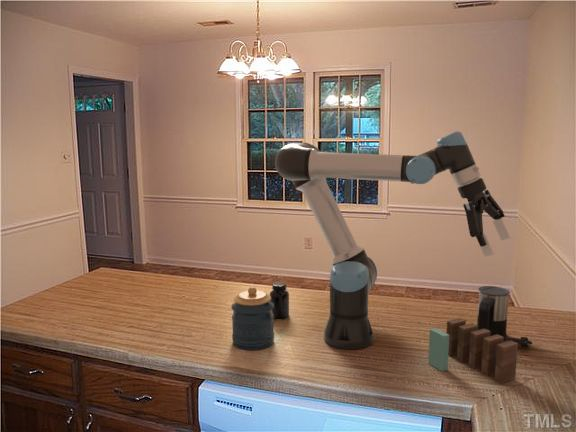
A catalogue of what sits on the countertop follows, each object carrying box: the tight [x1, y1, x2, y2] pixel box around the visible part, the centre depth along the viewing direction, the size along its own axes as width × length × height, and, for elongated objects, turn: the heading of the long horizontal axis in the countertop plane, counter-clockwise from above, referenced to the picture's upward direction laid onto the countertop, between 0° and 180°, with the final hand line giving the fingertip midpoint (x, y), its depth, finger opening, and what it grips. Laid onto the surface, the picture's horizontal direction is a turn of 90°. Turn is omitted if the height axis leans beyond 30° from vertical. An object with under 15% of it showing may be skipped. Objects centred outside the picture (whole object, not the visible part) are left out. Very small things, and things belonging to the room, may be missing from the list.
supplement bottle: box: [269, 281, 290, 320], centre depth 167 cm, size 7×7×12 cm
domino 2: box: [446, 317, 467, 357], centre depth 138 cm, size 2×5×10 cm, turn 116°
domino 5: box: [481, 334, 505, 378], centre depth 126 cm, size 2×5×10 cm, turn 116°
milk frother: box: [476, 285, 533, 347], centre depth 146 cm, size 14×16×15 cm
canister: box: [230, 286, 275, 351], centre depth 146 cm, size 13×13×18 cm
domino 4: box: [468, 329, 490, 370], centre depth 130 cm, size 2×5×10 cm, turn 116°
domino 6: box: [494, 340, 519, 385], centre depth 123 cm, size 2×5×10 cm, turn 116°
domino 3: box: [456, 322, 478, 364], centre depth 134 cm, size 2×5×10 cm, turn 116°
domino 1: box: [428, 327, 449, 372], centre depth 130 cm, size 2×5×10 cm, turn 26°
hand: (498, 246), depth 143 cm, fingers open, 13 cm apart
